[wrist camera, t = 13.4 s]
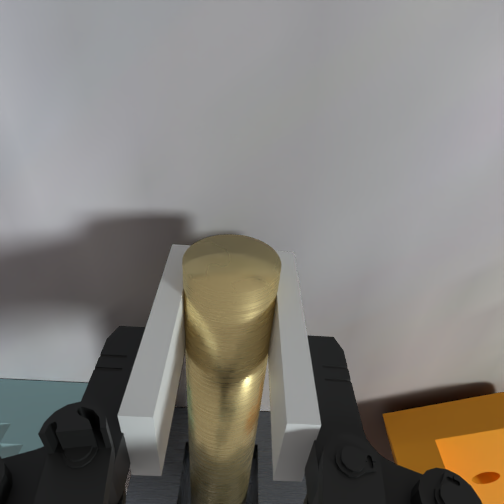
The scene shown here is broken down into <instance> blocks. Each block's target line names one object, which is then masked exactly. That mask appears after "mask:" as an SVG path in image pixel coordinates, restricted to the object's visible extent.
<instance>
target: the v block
mask: <svg viewBox="0 0 504 504" xmlns="http://www.w3.org/2000/svg"><path fill="white" fill-rule="evenodd" d="M87 385H88V383H75V382H55V381H34V380H13V379H0V457H1V458H2V459H3V458H6V457H10V456H14V455H17V454H21V453H25V452H28V451H32V450H35V449H38V448H41V447H43V446H44V445H43V443H42V441H41V439H40V437H39V435H38V433H39V431H40V429H41V427H42V425H43V424H44V422H45V421H46V420H47V419H48V418H49V417H50V416H51V415H52V414H53V413H54V412H55V411H57V410H59V409H60V408H62V407H64V406H66V405H68V404H72V403H76V402H81V400H82V397H83V395H84V392H85V390H86V388H87Z"/></svg>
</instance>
